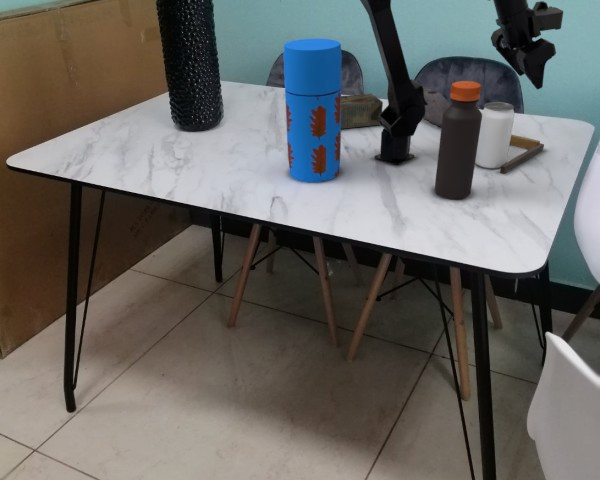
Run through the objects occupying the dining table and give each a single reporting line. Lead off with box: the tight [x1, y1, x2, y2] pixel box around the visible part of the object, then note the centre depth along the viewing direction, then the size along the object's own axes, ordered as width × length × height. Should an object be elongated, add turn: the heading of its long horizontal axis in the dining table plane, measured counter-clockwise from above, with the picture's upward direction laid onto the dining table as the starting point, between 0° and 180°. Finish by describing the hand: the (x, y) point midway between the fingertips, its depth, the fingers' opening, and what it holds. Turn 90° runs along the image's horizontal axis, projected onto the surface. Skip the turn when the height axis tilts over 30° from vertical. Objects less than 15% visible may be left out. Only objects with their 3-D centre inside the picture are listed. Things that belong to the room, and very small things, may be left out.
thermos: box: [282, 38, 343, 183], centre depth 113 cm, size 11×11×25 cm
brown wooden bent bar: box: [499, 133, 545, 175], centre depth 123 cm, size 17×10×2 cm, turn 135°
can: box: [475, 101, 516, 170], centre depth 117 cm, size 6×6×12 cm
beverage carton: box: [341, 93, 384, 129], centre depth 143 cm, size 8×19×7 cm, turn 102°
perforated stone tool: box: [423, 87, 451, 128], centre depth 142 cm, size 15×5×7 cm, turn 14°
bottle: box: [434, 80, 482, 200], centre depth 104 cm, size 7×7×20 cm
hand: (530, 81), depth 121 cm, fingers open, 9 cm apart
